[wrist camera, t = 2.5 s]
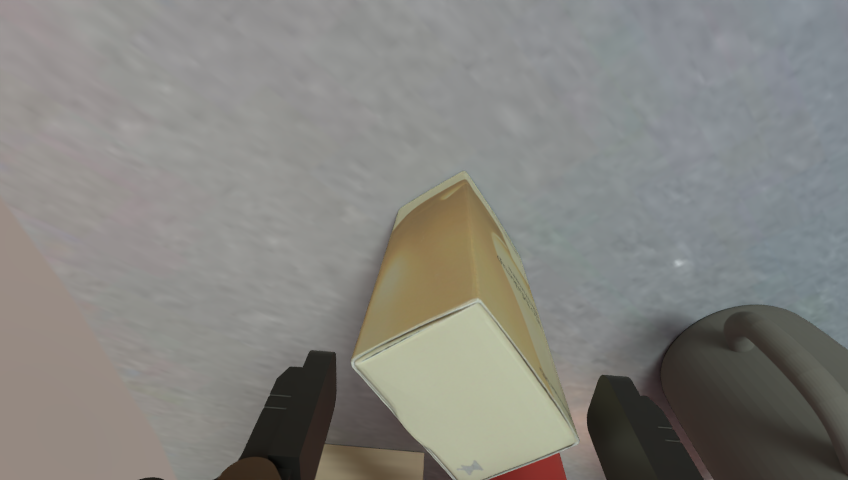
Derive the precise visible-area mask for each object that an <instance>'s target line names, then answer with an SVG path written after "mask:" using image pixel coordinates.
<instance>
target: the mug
mask: <svg viewBox="0 0 848 480" xmlns="http://www.w3.org/2000/svg"><path fill="white" fill-rule="evenodd" d="M661 383H662V388H663V391H664V393H665V395H666V398H667V400H668V402H669V404H670V406H671V408H672V409H673V411H674V413H675V415H676V417H677V418H678V420H679V422H680V424H681V425H682V427H683V429H684V430H685V432H686V434H687V436H688V437H689V439H690V441H691V442H692V444H693V446H694V447H695V449H696V451H697V452H698V454H699V456H700V457H701V459H702V461H703V462H704V464H705V466H706V467H707V469H708V471H709V472H710V474H711V476H712V477H713V479H714V480H848V350H847V349H846V348H844V347H843V346H842V345H840V344H839V343H838V342H836V341H835V340H834V339H832V338H831V337H830V336H828V335H827V334H826V333H824V332H823V331H821V330H820V329H819V328H817V327H816V326H814V325H813V324H812V323H810V322H808V321H807V320H805V319H804V318H802V317H800V316H799V315H797V314H795V313H793V312H791V311H788V310H785V309H782V308H778V307H774V306H768V305H745V306H738V307H733V308H729V309H725V310H722V311H719V312H716V313H714V314H711V315H709V316H707V317H705V318H703V319H701V320H700V321H698V322H696V323H695V324H693V325H692V326H690V327H689V328H688V329H686V330H685V331H684V332H683V333H682V334H681V335H680V336H679V337H678V338H677V339H676V340H675V341H674V342H673V344H672V345H671V346H670V348H669V349H668V351H667V353H666V355H665V357H664V360H663V362H662V367H661Z"/></svg>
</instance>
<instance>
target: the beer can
mask: <svg viewBox="0 0 848 480" xmlns="http://www.w3.org/2000/svg"><path fill="white" fill-rule="evenodd" d="M488 480H567V479H566V475H565V472H564V468H563V464H562V461H561V457H560V454H559V453H557V454H554V455H552V456H550V457H547V458H544V459H542V460H539V461H536V462H534V463H531V464H529V465H526V466H523V467H520V468H518V469H515V470H513V471H510V472H507V473H505V474H502V475H499V476H497V477H494V478H491V479H488Z"/></svg>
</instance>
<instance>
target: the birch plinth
mask: <svg viewBox="0 0 848 480" xmlns="http://www.w3.org/2000/svg"><path fill="white" fill-rule="evenodd" d="M423 468H424V453H419V452H408V451H397V450H386V449H375V448H364V447H353V446H342V445H331V444H324V448H323V451H322V455H321V459H320V462H319V466H318V470H317V473H316V477H315V480H423Z"/></svg>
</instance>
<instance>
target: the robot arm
mask: <svg viewBox="0 0 848 480" xmlns="http://www.w3.org/2000/svg"><path fill="white" fill-rule="evenodd" d="M335 401H336V353H335V352H326V351H314V350H311V351H310V352H309V354H308V356H307V358H306V361H305V363H304V366H303V368H302V367H289V368H288V369H287V370H286V371H285V372H284V373H283V374H282V375H281V376H279V377H278V378H277V380H276V382H275V384H274V386H273V389H272V391H271V393H270V396H269V397H268V399H267V401H266V404H265V407H264V409H263V410H262V412H261V414H260V416H259V419H258V421H257V423H256V425H255V427H254V429H253V432H252V434H251V436H250V438H249V440H248V442H247V444H246V447H245V449H244V451H243V453H242V455H241V457H240V458H239V460H238V461H237V462H235V463H233V464H232V465H230V466H229V467H227V468H226V469H225V470H224V471H223V472H222V473H221V475H220V476H219V477H218V478H216V479H214V480H315V477H316V473H317V470H318V466H319V462H320V459H321V455H322V451H323V448H324V444H325V441H326V437H327V433H328V430H329V426H330V422H331V419H332V415H333V411H334V407H335ZM587 426H588V431H589V434H590V437H591V440H592V442H593V445H594V447H595V450H596V453H597V455H598V458H599V461H600V463H601V466H602V468H603V471H604V474H605V476H606V479H607V480H704V479H703V478H702V476H701V474H700V473H699V471H698V469H697V468H696V466H695V464H694V463H693V461H692V459H691V457H690V456H689V454H688V452H687V451H686V449H685V447H684V446H683V444H682V443H680V439H679V437H678V436H677V434H676V432H675V431H674V430H672V426H671V424H670V422H669V421H668V419H667V417H666V416H665V414H664V412H663V411H662V410H661V409H660V408H659V407H658V406H657V405H656V404H655V403H654V402H653V401H652V400H651V399H649V398H648V397H647V396H640V394H639V392H638V391H637V389H636V387H635V385H634V384H633V382H632V380H631V379H630V378H629V377H623V376H611V375H601V376H600V378H599V380H598V382H597V385H596V388H595V391H594V394H593V397H592V400H591V403H590V406H589V409H588V413H587ZM140 480H163V479H160V478H154V477H152V478H144V479H140Z"/></svg>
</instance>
